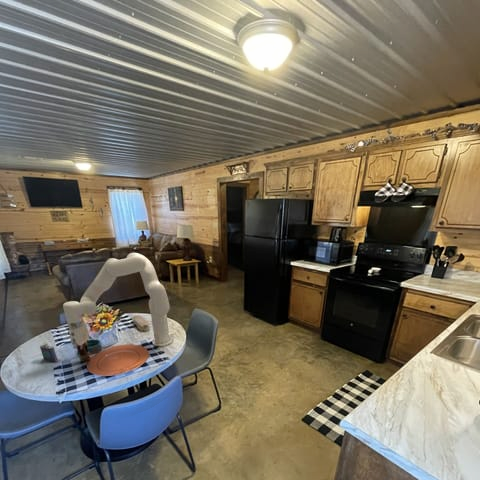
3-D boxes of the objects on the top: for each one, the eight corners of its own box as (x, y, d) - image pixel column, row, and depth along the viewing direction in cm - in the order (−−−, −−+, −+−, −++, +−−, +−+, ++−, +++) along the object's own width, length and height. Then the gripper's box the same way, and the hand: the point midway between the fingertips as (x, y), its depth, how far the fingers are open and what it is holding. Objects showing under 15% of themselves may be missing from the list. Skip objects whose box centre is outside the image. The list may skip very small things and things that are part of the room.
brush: (87, 355, 155) (83, 341, 151) (92, 357, 152) (89, 343, 148) (77, 359, 150) (73, 345, 146) (83, 362, 148) (79, 347, 144)
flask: (59, 360, 153) (53, 343, 149) (54, 362, 150) (49, 346, 146) (46, 357, 155) (41, 341, 151) (42, 360, 153) (36, 344, 148)
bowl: (94, 343, 171) (92, 337, 170) (106, 348, 165) (104, 342, 164) (75, 351, 162) (73, 345, 160) (87, 357, 156) (85, 350, 154)
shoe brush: (151, 329, 191) (150, 323, 189) (141, 332, 187) (140, 326, 185) (141, 319, 209) (140, 313, 207) (131, 321, 205) (130, 316, 203)
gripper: (73, 330, 135) (82, 360, 142) (91, 318, 150) (97, 346, 157) (59, 330, 135) (68, 360, 142) (78, 318, 150) (85, 346, 157)
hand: (83, 353), depth 150 cm, fingers closed on brush, 2 cm apart
